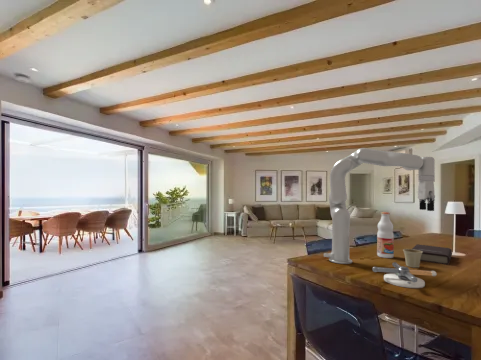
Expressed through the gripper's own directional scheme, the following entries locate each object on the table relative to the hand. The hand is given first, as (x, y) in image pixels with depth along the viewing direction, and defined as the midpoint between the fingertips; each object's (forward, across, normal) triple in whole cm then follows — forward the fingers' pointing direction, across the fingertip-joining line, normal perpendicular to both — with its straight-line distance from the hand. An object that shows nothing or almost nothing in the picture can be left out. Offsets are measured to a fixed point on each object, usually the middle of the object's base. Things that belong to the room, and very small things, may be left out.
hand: (426, 210), depth 156 cm
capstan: (+29, +32, -22) cm, 49 cm away
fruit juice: (+31, -22, -15) cm, 41 cm away
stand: (+31, +32, -22) cm, 50 cm away
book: (+32, -26, +13) cm, 43 cm away
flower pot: (+31, 0, -7) cm, 32 cm away
